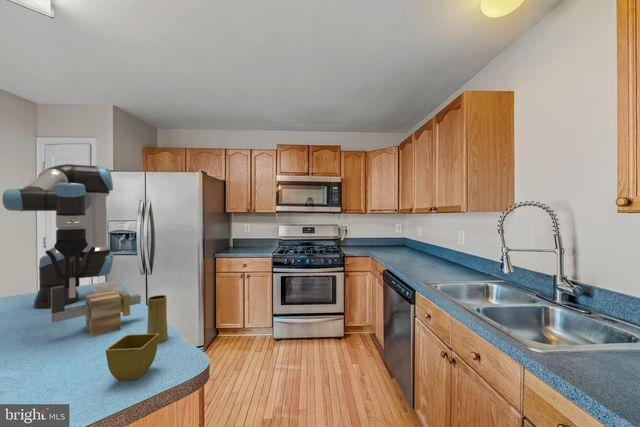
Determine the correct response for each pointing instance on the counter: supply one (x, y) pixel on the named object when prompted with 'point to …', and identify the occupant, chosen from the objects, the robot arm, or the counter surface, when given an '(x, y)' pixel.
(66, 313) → the shaft
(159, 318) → the vase
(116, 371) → the flower pot
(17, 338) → the counter surface
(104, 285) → the cup
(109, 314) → the block
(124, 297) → the collar
